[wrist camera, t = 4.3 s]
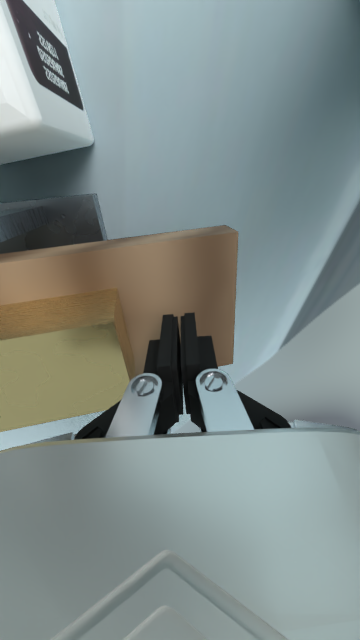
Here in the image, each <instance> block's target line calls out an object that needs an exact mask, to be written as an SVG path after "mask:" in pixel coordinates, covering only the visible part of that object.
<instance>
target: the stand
mask: <svg viewBox="0 0 360 640" xmlns="http://www.w3.org/2000/svg"><path fill="white" fill-rule="evenodd" d="M106 240H107V236H106V232H105V228H104V223H103V219H102V215H101V211H100V207H99V203H98V198H97V194H88V195H78V196H67V197H57V198H47V199H37V200H27V201H16V202H6V203H0V254H4V253H12V252H20V251H28V250H36V249H43V248H51V247H59V246H67V245H74V244H82V243H90V242H98V241H106Z"/></svg>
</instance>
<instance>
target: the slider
mask: <svg viewBox="0 0 360 640" xmlns="http://www.w3.org/2000/svg"><path fill="white" fill-rule="evenodd" d="M134 377H135V359H134V355H133V351H132V347H131V343H130V339H129V335H128V331H127V327H126V322H125V318H124V314H123V310H122V306H121V302H120V298H119V294H118V290H117V288H112V289H105V290H99V291H92V292H86V293H79V294H72V295H66V296H59V297H52V298H46V299H39V300H33V301H26V302H19V303H13V304H6V305H0V432H3V431H7V430H12V429H17V428H22V427H27V426H32V425H37V424H41V423H46V422H51V421H56V420H61V419H66V418H71V417H75V416H80V415H85V414H90V413H95V412H100V411H105V410H108V409H109V408H110V407H112V406H113V405H115V404H116V403H117V402H119V401H120V400H121V399H122V397H123V395H124V393H125V390H126V388H127V386H128V384H129V382H130V381H131V380H132V379H133V378H134Z"/></svg>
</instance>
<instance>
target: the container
mask: <svg viewBox="0 0 360 640" xmlns="http://www.w3.org/2000/svg"><path fill="white" fill-rule="evenodd" d="M93 142H94V137H93V134H92V130H91V127H90V123H89V120H88V116H87V113H86V109H85V106H84V102H83V99H82V95H81V91H80V88H79V84H78V81H77V77H76V74H75V70H74V67H73V63H72V60H71V56H70V53H69V49H68V46H67V42H66V39H65V35H64V32H63V28H62V25H61V21H60V17H59V14H58V10H57V7H56V3H55V0H0V165H1V164H6V163H11V162H16V161H20V160H25V159H30V158H35V157H39V156H44V155H49V154H54V153H58V152H63V151H68V150H73V149H77V148H82V147H87V146H90V145H92V144H93Z"/></svg>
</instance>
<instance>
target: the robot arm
mask: <svg viewBox="0 0 360 640" xmlns="http://www.w3.org/2000/svg"><path fill="white" fill-rule="evenodd" d="M183 388H184V397H185V405H186V413H187V414H190V415H191V421H192V422H193V423H195V424H196V425H197V426H198V427H199V428H200V432H196V433H179V434H170V431H171V429H170V428H171V427H172V426H173V425H174V424H175V423H176V422H179V415H180V414H183ZM0 640H360V431H358V430H356V429H352V428H349V427H343V426H335V425H329V424H322V423H315V422H308V421H301V420H294V422H288V421H287V420H286V419H284V418H283V417H282V416H281V415H279V414H277V413H275V412H274V411H272V410H270V409H269V408H267V407H265V406H263V405H262V404H260V403H258V402H257V401H255V400H253V399H252V398H250V397H248V396H246V395H245V394H243V393H241V392H239V391H238V390H236V388H235V386H234V384H233V382H232V380H231V378H230V376H229V375H228V374H227V373H226V372H224V371H222V370H220V369H218V367H217V361H216V356H215V351H214V346H213V341H212V336H211V335H210V336H197V330H196V321H195V312H193V313H184V316H181V343H180V334H179V325H178V317H177V316H176V317H174V315H173V314H167V315H163V317H162V326H161V334H160V339H157V340H149V344H148V350H147V355H146V360H145V366H144V371H143V374H140V375H138V376H136V377H134V378H133V379H132V380H131V381H130V382H129V384H128V386H127V388H126V390H125V393H124V395H123V397H122V399H121V400H120V401H119V402H117V403H116V404H115V405H113V406H112V407H110V408H109V409H108V410H106V411H105V412H104V413H102V414H101V415H100V416H98V417H97V418H95V419H94V420H93V421H91V422H90V423H89V424H87V425H86V426H84V427H83V428H82V429H81V430H80V431H79V432H78V433H77V434H75V435H73V433H72V432H71V433H67V434H64V435H60V436H56V437H53V438H49V439H45V440H41V441H38V442H34V443H30V444H26V445H22V446H17V447H12V448H9V449H5V450H2V451H0Z"/></svg>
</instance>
